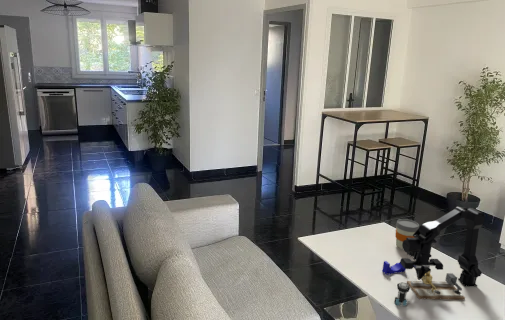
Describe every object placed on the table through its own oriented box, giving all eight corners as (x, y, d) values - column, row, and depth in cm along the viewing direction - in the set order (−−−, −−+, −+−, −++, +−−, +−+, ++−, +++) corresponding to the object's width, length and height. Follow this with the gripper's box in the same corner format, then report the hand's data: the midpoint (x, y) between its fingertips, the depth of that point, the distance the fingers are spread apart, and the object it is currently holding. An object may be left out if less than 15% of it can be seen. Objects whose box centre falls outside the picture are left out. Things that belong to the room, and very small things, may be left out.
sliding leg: (426, 281, 190) (429, 267, 188) (437, 293, 180) (440, 279, 178) (420, 281, 190) (423, 267, 188) (431, 293, 180) (434, 279, 178)
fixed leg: (450, 282, 191) (452, 273, 189) (462, 294, 181) (464, 285, 179) (444, 282, 190) (446, 273, 189) (456, 294, 180) (458, 285, 179)
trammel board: (449, 283, 193) (450, 278, 192) (464, 299, 180) (465, 294, 179) (406, 283, 191) (407, 278, 190) (419, 299, 179) (420, 293, 178)
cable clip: (399, 267, 206) (401, 257, 204) (405, 271, 202) (407, 261, 200) (380, 270, 202) (382, 259, 201) (385, 274, 198) (387, 264, 197)
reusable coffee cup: (388, 243, 233) (392, 220, 229) (403, 240, 238) (407, 217, 234) (404, 252, 222) (408, 229, 218) (419, 249, 227) (424, 226, 223)
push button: (407, 301, 177) (410, 281, 174) (411, 308, 171) (415, 288, 169) (392, 299, 177) (395, 280, 174) (396, 307, 172) (399, 287, 169)
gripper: (434, 242, 191) (429, 270, 195) (397, 242, 190) (393, 270, 194) (446, 254, 180) (440, 283, 185) (407, 253, 179) (402, 282, 183)
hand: (418, 279), depth 187 cm, fingers closed
